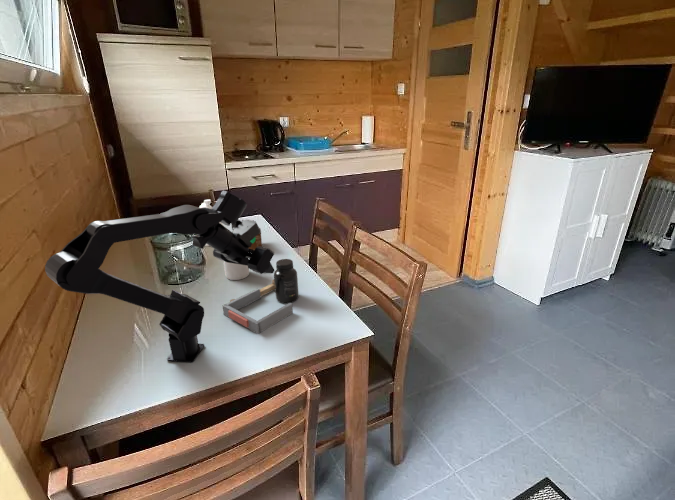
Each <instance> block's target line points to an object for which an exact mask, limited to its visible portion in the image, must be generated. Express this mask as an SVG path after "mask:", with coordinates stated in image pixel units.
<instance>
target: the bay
mask: <svg viewBox="0 0 675 500" xmlns="http://www.w3.org/2000/svg"><path fill="white" fill-rule="evenodd" d="M260 289H261V288H258V287H257V288H256V289H253V290H252V291H250V292H247V293H245V294H243V295H241V296H239V297H237V298H234V299H235V300H232V299H231V300H232V301H230V300H229V302H225V304H224V303H223V305H222V312H223V315H224V316H226V317H227V318H229V319H230V320H232V321H234V322H236V323H238V324H239V325H241V326H242V327H245V328H247V329H249V330H250V331H252V332H253V333H256V334H260V333H262V332H264V331H265V330H267V329H268V328H271V327H272V326H273V325H275V324H277V323H278V322H280V321H283V320H284V319H285V318H287V317H289V316H291V315H293V314H294V311H293V303H286V304H285V305H283V306H281V307H279V308H277V309H276V310H274V311H273V312H270V313H269V314H267V315H266V316H263V317H262V318H260V319H258V320H257V319H256V318H255V319H254V318H253V317H251V316H249V315H247V314H245V313H243V312H241V311H240V309H242V308H244V307H246V306H248V305H250V304H251V303H254V302H255V301H258V300H259V299H260V300H261V298H262V296H260Z"/></svg>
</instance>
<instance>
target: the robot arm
mask: <svg viewBox="0 0 675 500" xmlns="http://www.w3.org/2000/svg"><path fill="white" fill-rule="evenodd" d="M247 206H248V204H247V202H245V200H244V199H243V198H239V196H236V195H235V194H232V193H231V192H230V191H228V190H227V191H226V190H222V191H221V192H220V194H219V196H218V198H217V200H216V202H215V203H214V204H213V206H212V209H209V208H205V207H204V208H199V207H200V206H199V207H198V206H194V205H190V204H183V205H180V206H176V207H173V208H170V209H169V210H167V211H165V212H161V213H160V214H159V213H156V214H150V215H142V216H133V217H127V218H126V217H125V218H119V219H109V220H95V221H92V222H90V223H89V224H88V225H87V226H86V227H85V228H84V230H82V232H80V234H78V235H77V236H75V237H74V238H73V239H72V240H70V241H69V242H68V243H66V245H64V247H63V248H62V249H61V250H60V251H59V252H57V253H55V254H52V256H51V255H50V257H49V258H48V260H46V263H45V265H44V266H45V267H44V272H45V273H46V276H47V277H48V278H49V279H50V280H51V281H53V282H54V283H55V284H57V286H59V287H60V288H61V289H63V290H65V291H67V292H73V293H78V294H79V293H80V294H85V295H93V294H95V295H104V296H108V297H111V298H114V299H116V300H120V301H122V302H123V301H124V302H126V303H128V304H132V305H135V306H138V307H141V308H144V309H147V310H151V311H153V312H156V313H159V314H161V315H162V314H163V317H162V319H161V321H160V322H159V324H158V325H159V327H160V328H161V329H162V330H163V331H165V332H167V333H168V343H169V347H170V351H171V353H170V354H169V355H168V356H167V358H166V360H167V362H177V363H178V362H179V363H180V362H181V363H182V362H183V363H193V362H195V360H196V359H197V357H198V356H199V355H200V353H201V352H202V351H203V349H204V348H205V343H199V340H198V336H199V335H200V334H201V330H202V324H203V319H204V317H205V308H204V307H203V306H202V305H201V301H199V300H197V299H196V298H194V297H192V296H190V295H188V294H186V293H180V292H179V291H176V290H175V289H172V290H171V293H170V294H165V293H164V294H163V293H160V292H157V291H155V290H153V289H150V288H148V287H144V286H141V285H140V284H137V283H135V282H131V281H129V280H126V279H123V278H121V277H118V276H116V275H113V274H110V273H107V272H105V271H104V270H102V269H101V266H102V265H103V263H104V261H105V259H106V257H107V255H108V253H109V251H110V249H111V247H112V246H113V245H114V244H115V243H122V242H125V241H127V242H128V241H133V240H139V239H144V238H149V237H150V238H151V237H155V236H156V237H157V236H162V235H167V234H179V235H180V234H182V235H192V239H193V240H192V245H193V247H196V248H199V249H204V248H205V247H206V246H205V245H206V244H208V245H209V246H208V247H210V248H212V249H213V250H212V255H213V257H214V258H216V259H218V260H220V261H222V262H223V261H225V262H228V263H234V264H241V265H247V266H248V268H249V270H250V271H252V272H255V273H256V274H257V273H258V274H260V275H263V274H274V272H275V268H274V267H273V264H272V262H271V261H272V260H273V259H272V258H273V257H274V255H275V254H274V253H275V252H274V251H273V250H271V249H270V248H269V247H264V246H263V245H262V246H259V247H256V248H255V250H252V249H249V247H251V245H252V242H250V241H251V240H252V239H253V238H254V237H256V236H257V235H258V234H260V232H261V233H262V230H260V229H261V228H260V226H259V225H258V223H257V222H256V220H254V221H252V220H253V219H242V220H239V219H240V217H241V216H242V215H243V212H244V211H245V209H246V208H247ZM219 222H221V223H222V224H223V225H222V224H220V223H219ZM230 225H231V230H232V231H231V230H230V229H228V228H227V227H230ZM225 226H227V227H225ZM259 228H260V229H259ZM194 234H197V235H194Z"/></svg>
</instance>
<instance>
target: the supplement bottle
mask: <svg viewBox="0 0 675 500" xmlns="http://www.w3.org/2000/svg"><path fill="white" fill-rule="evenodd" d="M275 263H276V264H275V265H276V267H275V268H276V269H275V270H274V272H273V279H274V282H275V290H274V291H275V292H274V293H275V299H276V300H277V302H279V303H282V304H288V303H291V304H293V303H294V302H296V301H297V300H298V299H299V297H300V295H299V294H300V293H299V282H298V281H299V279H298V272H297V270H296V269H295V268H294V262H293V260H292V259H291V258H282V259H279V260H277V261H276V262H275Z"/></svg>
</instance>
